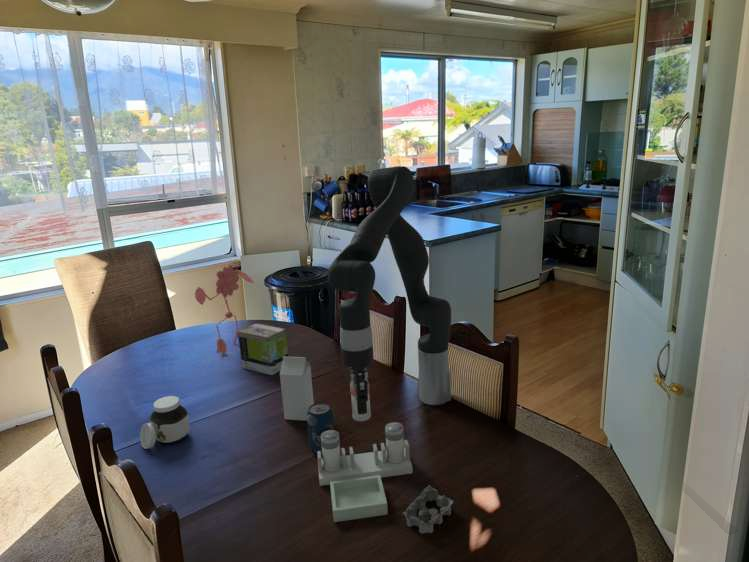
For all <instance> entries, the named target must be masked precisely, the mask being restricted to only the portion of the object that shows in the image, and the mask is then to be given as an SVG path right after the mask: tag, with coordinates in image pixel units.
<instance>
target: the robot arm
mask: <svg viewBox="0 0 749 562" xmlns="http://www.w3.org/2000/svg"><path fill="white" fill-rule="evenodd" d="M413 175H414V174H413V173H412V171H411V169H409V167H407V166H403V165H402V166H401V165H400V166H399V165H398V166H392V167H383V168H377V169H373V170H372V171H371V172H370V173H369V175H368V177H367V187H368V192H369V196H370V198H371V200H372V201H371V202H372V203H373V205H374V207H375V209H374V210H372V211H371V212H370V213H369V214H368V215H367V216H366V217H365V218H364V219H362V221H361V223H359V225H358V226H357V228H356V229H355V232H354V234H353V236H352V238H351V240H350V242H349V244H348V245H347V246H345V248H344V249H343V250H342V251H341V252H339V254H338V255H337V256H336V258H334V259H333V261H332V262H331V264H330V266H329V269H328V272H327V278H328V283H329V285H330V286H331V287H332V289H334V290H337V291H341V292H343V291H344V292H345V291H346V292H353V293H354V292H355V295H356V297H353V298H347V299H345V300H342V301H341V302H340V304H339V306H338V313H339V314H338V316H339V340H340V341H339V343H340V351H341V353H340V354H341V363H342V364H343V365H344V366H345V367H347V368H349V375H350V379H351V380H350V382H351V381H353V389H354V391H355V392H356V400H357V409H358V414H366V413H367V402H366V401H368V382H369V381H368V382H367V380H368V378H369V372H368V370H367V366H369V365H371V364H372V363H373V362H374V358H375V357H374V344H373V332H372V331H373V330H372V326H371V315H370V314H371V312H370V311H371V310H370V307H371V299H372V293H373V290H374V286H375V282H376V271H375V268H374V266H373V265H372V264H371V263H372V262H374V261H375V260H376V259H377V257H378V255H379V253H380V250H381V248H382V245H384V244H383V243H384V241H385V238H386V236H387V238H388V240H389V244H390V247H391V250H392V255H393V256H394V260H395V263H396V265H397V268H398V270H399V271H398V272H399V273H400V276H401V279H402V283H403V286H404V290H405V292H406V293H405V294H406V298H407V303H408V308H409V312H410V315H411V318H412V319H413V321H414V323H416V324H417V325H420V326H422V327H426V328H429V333H428V334H424V335H422V336H420V337H419V338H418V340H417V352H418V353H417V356H418V358H417V359H418V360H417V361H418V363H417V364H418V389H419V391H418V394H419V397H418V398H419V400H420V401H421V403H423V404H426V405H429V406H441V405H444V404H446V403H447V402H451V401H452V397H451V396H452V394H451V393H452V392H451V391H452V390H451V389H452V386H451V385H452V383H451V378H452V376H451V371H450V370H449V368H450V367H449V343H450V339H451V331H452V330H451V327H452V326H451V325H452V308H451V305H450V302H449V301H448V300H446V299H444V298H440V297H435V296H432V295H429V293H428V292H427V289H426V285H425V276H426V273H427V271H428V268H429V264H430V258H429V253H428V250H427V247H426V243H425V239H424V238H423V236H422V235H421V234H420V233H419V232H418V230H417V229H415V228H414V226H412V225H411V224H410V222H408V221H407V220H406V219H405V218H404V217H403V216H402V214H401V213H402V212H403V210H404V209H405V207H406V205H408V203H409V201H410V200H411V199H412V196H413V195H414V194H413V193H414V191H415V179H414V176H413ZM355 384H356V386H355Z"/></svg>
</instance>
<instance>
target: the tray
mask: <svg viewBox="0 0 749 562" xmlns="http://www.w3.org/2000/svg"><path fill="white" fill-rule="evenodd" d="M383 485H384V484H383V482H382V478H381V476H380V475H377V476H369V477H362V478H354V479H347V480H340V481H332V482H330V485H329V486H330V487H329V488H330V495H331V496H330V497H331V505H332V506H331V507H332V508H331V509H332V516H333V523H337V522H345V521H351V520H352V521H353V520H359V519H360V520H361V519H364V518H372V517H378V516H386V515H389V513H388V510H389V509H388V502H387V497H386V494H385V493H386V492H385V488H384V486H383Z"/></svg>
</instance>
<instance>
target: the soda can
mask: <svg viewBox="0 0 749 562" xmlns="http://www.w3.org/2000/svg"><path fill="white" fill-rule="evenodd" d="M306 423H307V433H308V445H309V447H310V449H311V450H312V451H313V453H316V454H317V451H321V455H322V446H321V434H322V433H323V432H325V431H328V430H334V431H335V425H334V415H333V410H332V409H331V407H330V404H328V403H325V402H317V403H314V404H313V405H311V406H310V407H309V409H308V413H307V421H306Z"/></svg>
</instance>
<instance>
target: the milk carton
mask: <svg viewBox="0 0 749 562" xmlns="http://www.w3.org/2000/svg"><path fill="white" fill-rule="evenodd" d="M279 379H280V389H281V397H282V407H283V416H284V420H290V421H292V420H293V421H306V422H307V413H308V409H309V407H310V406H311V405H313V404H315V401H314V391H313V380H312V369H311V364H310V363H309V362H308V361H307V358H306V357H305V356H288V357H284V356H283V362H282V366H281V370H280V371H279Z"/></svg>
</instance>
